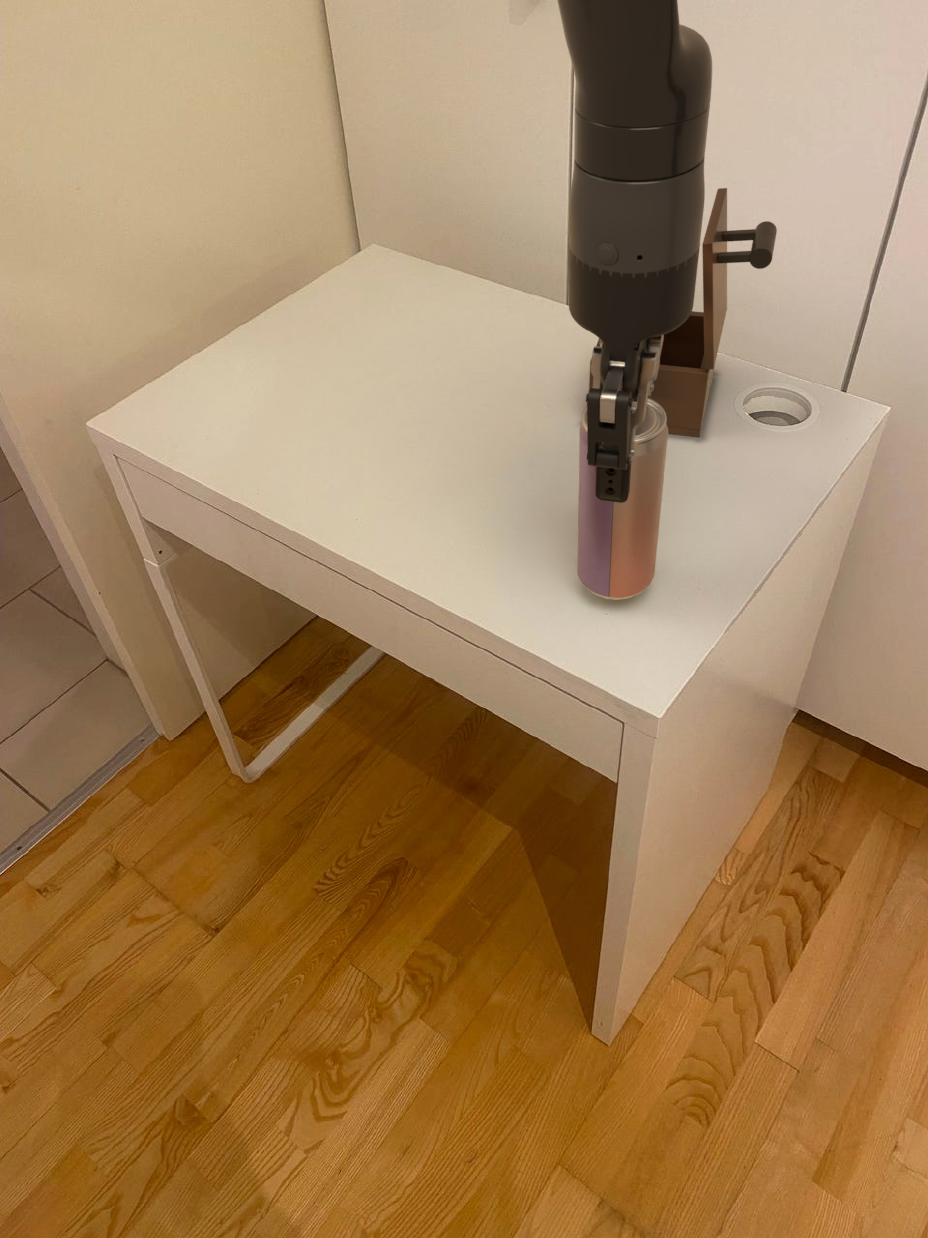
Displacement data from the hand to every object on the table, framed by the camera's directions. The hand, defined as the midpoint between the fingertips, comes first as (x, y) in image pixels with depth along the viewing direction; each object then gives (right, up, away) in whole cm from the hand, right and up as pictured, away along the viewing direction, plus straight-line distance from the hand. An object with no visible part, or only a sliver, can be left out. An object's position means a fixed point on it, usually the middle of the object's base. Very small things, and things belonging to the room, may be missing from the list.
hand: (621, 468), depth 67 cm
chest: (+7, +11, +27) cm, 30 cm away
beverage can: (+1, -7, +8) cm, 11 cm away
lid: (+11, +19, +16) cm, 27 cm away
